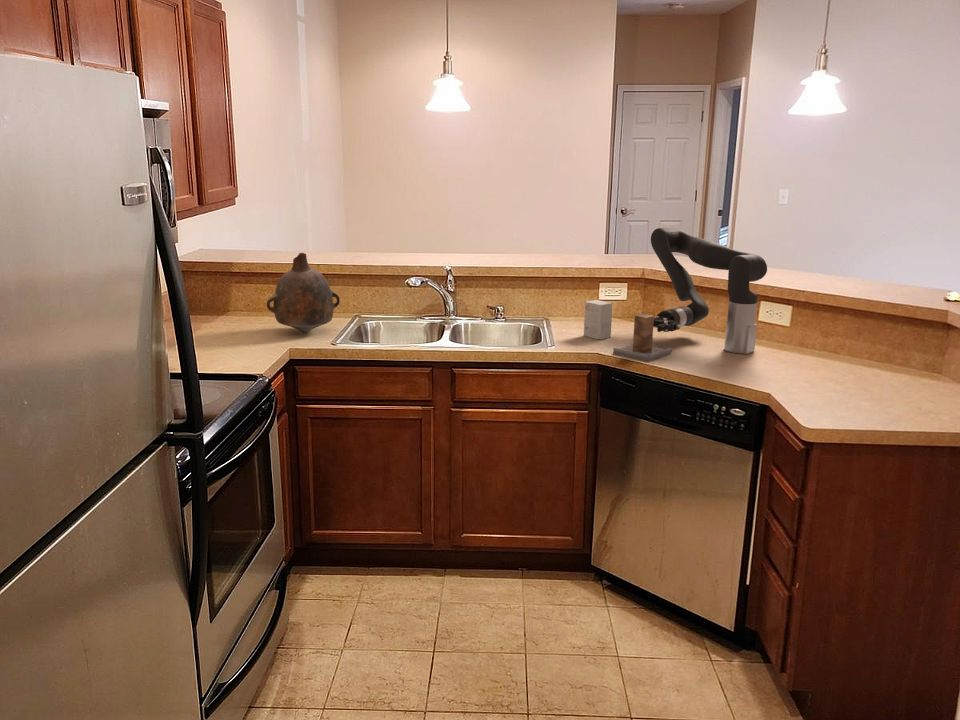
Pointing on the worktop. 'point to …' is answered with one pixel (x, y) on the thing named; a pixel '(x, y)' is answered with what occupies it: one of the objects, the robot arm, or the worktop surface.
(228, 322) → the worktop surface
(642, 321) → the walnut block
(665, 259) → the robot arm
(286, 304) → the jug
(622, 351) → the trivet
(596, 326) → the small box
